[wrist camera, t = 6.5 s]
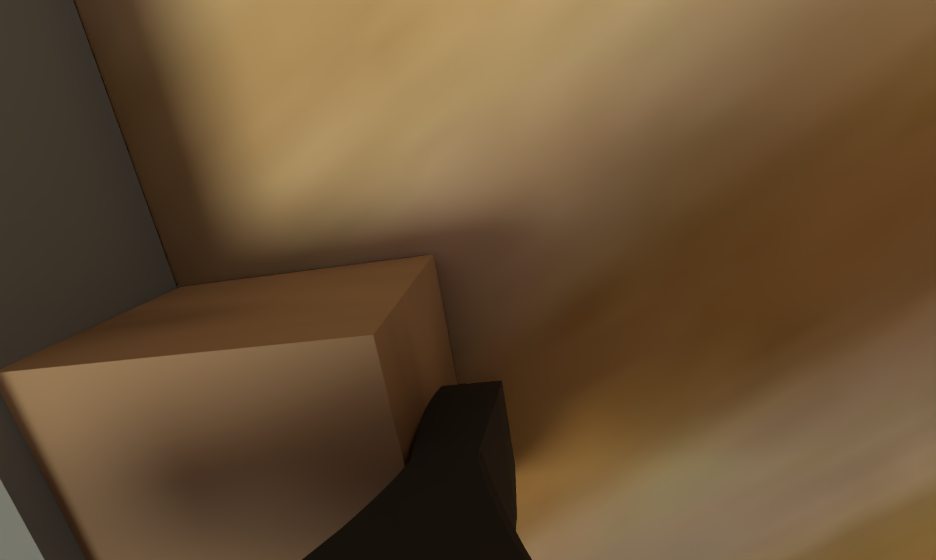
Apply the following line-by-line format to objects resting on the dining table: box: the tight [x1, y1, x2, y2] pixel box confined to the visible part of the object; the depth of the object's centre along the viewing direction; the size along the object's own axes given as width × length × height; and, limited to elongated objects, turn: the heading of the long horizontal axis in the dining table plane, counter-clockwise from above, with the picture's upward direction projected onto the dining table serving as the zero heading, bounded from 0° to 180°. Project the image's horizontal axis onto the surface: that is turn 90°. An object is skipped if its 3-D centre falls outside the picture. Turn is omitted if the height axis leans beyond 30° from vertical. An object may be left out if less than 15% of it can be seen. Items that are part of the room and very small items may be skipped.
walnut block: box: [0, 255, 458, 560], centre depth 9 cm, size 6×6×4 cm
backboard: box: [0, 0, 177, 560], centre depth 9 cm, size 18×2×4 cm, turn 9°
